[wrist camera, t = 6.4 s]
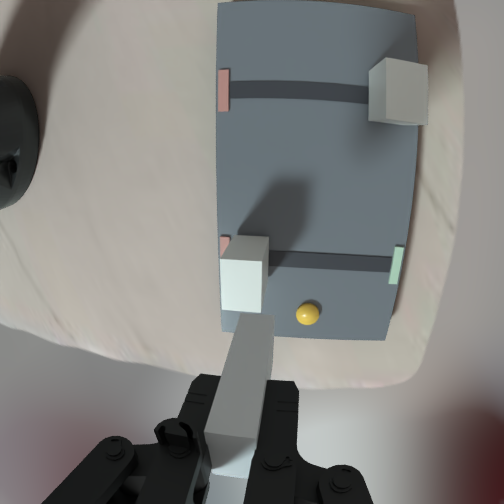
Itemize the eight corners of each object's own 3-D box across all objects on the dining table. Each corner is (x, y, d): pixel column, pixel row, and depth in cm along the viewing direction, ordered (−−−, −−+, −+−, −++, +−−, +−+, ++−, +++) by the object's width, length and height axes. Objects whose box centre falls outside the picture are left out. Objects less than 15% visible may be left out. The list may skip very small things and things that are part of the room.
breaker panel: (223, 11, 19) (216, 1, 17) (406, 22, 17) (416, 13, 15) (226, 318, 29) (220, 334, 26) (380, 327, 27) (385, 343, 25)
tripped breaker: (234, 234, 23) (219, 258, 19) (269, 236, 23) (262, 261, 19) (234, 278, 24) (221, 309, 20) (267, 281, 24) (260, 312, 20)
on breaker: (368, 71, 18) (385, 57, 14) (403, 76, 17) (427, 65, 13) (368, 120, 19) (385, 118, 15) (403, 125, 19) (427, 125, 14)
